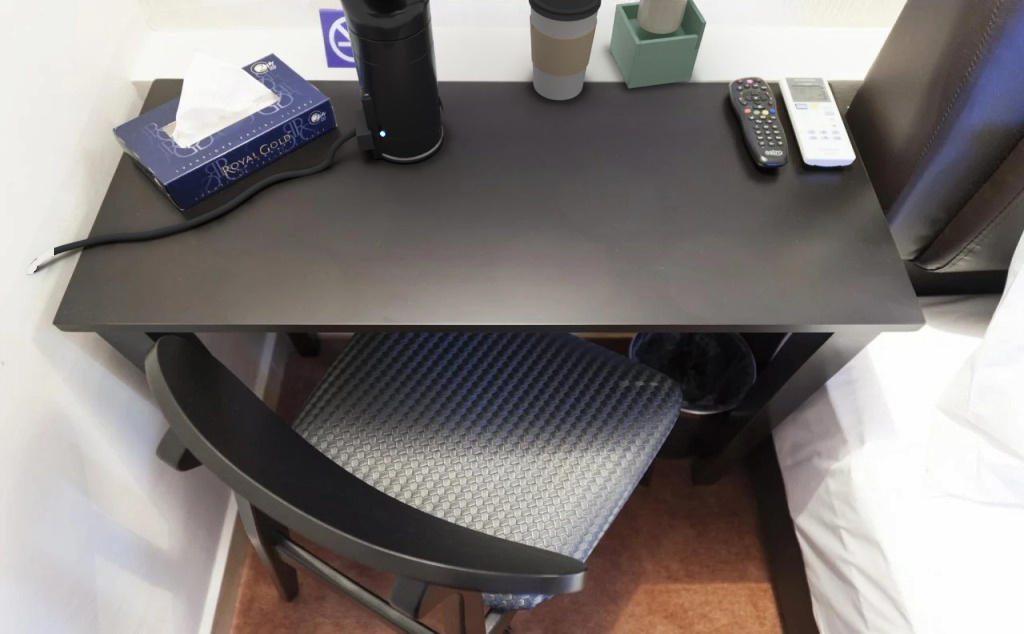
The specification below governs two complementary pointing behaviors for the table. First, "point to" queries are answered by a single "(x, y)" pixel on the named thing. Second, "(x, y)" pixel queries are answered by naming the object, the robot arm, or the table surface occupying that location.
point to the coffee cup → (561, 45)
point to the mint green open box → (655, 47)
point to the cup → (661, 15)
